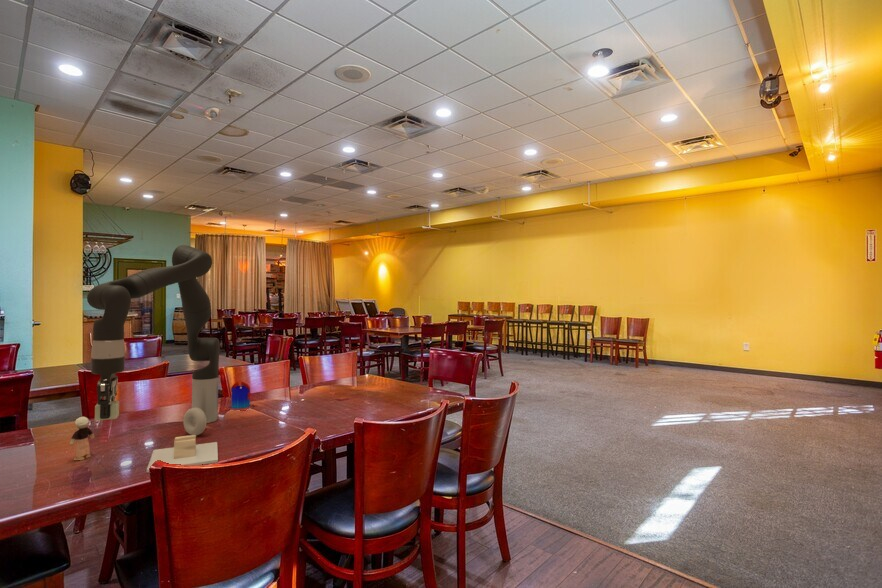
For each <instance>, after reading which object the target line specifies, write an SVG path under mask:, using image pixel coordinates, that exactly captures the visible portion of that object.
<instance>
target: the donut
mask: <svg viewBox="0 0 882 588" xmlns="http://www.w3.org/2000/svg"><path fill="white" fill-rule="evenodd" d="M194 418H195V420H196V424H195V423H194ZM182 423H183V427H184V430H185V431H186V432H187V434H188V435H189V436H190V435H196V437H197V436H200V435H201V434H202V433H203V432H204V431H205V429H206V427H207V423H206V416H205V414H204V412H203V411H202V410H201V409H200V408H197V407H195V408H192V407H190V408H189V409H187V411H186V412H185V413H184V416H183V421H182Z"/></svg>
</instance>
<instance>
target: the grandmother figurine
mask: <svg viewBox="0 0 882 588" xmlns="http://www.w3.org/2000/svg"><path fill="white" fill-rule="evenodd" d="M89 423H90V419H89V418H88V417H86V416H80V417H78V418H76V420H75V426H76V428H77V429H78V430H75V431H74V433H73V434H72V436H71V438H70V442H69V445H70V446H73V445H74V450H73V457H74V458H73V461H74V460H80V461H83V460H85V459H87V458H91V454H90V451H91V450H90V442H89V439H88V438H89V437H90V439H95V437H96V436H95V434H94V432H93V430H91V429H90V428H89V427H88V426H87V425H89Z"/></svg>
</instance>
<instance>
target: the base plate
mask: <svg viewBox="0 0 882 588" xmlns="http://www.w3.org/2000/svg"><path fill="white" fill-rule="evenodd" d="M218 452H219V451H218V441H215V442H213V441H212V442H205V443H199V444H197V443H196V451H195V456H193V457H185V458H178V459H174V446H172V447H165V448H159V449H153V451H152V454H151V456H150V459H149V462H148V465H147V468H146V473H150V472H149V468H150V466H151V465H152V464H153V463H154V462H155V461H157V460H161V461H163V462H166V463H169V464H181V465H196V466H201V465H202V464H203V465H210V464H216V463H218V462H219V453H218Z"/></svg>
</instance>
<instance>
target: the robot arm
mask: <svg viewBox="0 0 882 588" xmlns="http://www.w3.org/2000/svg"><path fill="white" fill-rule="evenodd" d="M212 264H213V258H212V256H211V254H209V253H208V252H206V251H204V250H201V249H198V248H196V247H193V246H191V245H187V244H182V245H178V246H177V247H176V248H175V249H174V250H173V253H172V255H171V265H169V266H161V267H153V268H152V267H151V268H147V269H143V270H140V271H137V272H135V273H132V274H130V275H127V277H126V276H125V277H123V278H120V279H115V280H111V281H107V282H104V283H100V284H98V285H95V286H94V287H93V288H91V289H90V290H89V291H88V294H87V296H86V300H87V303H88V305H89V306H90V307H92V308H93V309H96V310H102V311H103V315H102V318H99V319H97V320H94V322H93V324H92V325H93V326H92V345H91V351H90V352H91V354H90V355H91V357H90V359H91V360H90V361H91V362H90V364H91V366H90V367H91V368H90V369H91V370H90V372H91V374H93V375H100V378H99V380H97V385H96V391H97V392H96V393H97V395H96V396H97V403H98V405H99V406H100V418H101V419H107V418H109V417H110V409H111V401H116V398H117V395H118V393H117V391H118V382H119V381H118V380H119V379H118V378H119V377H118V375H116V374H119V373H122V372H125V365H126V363H125V362H126V361H125V360H126V359H125V358H126V357H125V355H126V352H125V351H126V349H125V348H126V345H125V323H126V320H127V317H128V314H129V311H130V307H131V305H132V299H139V298H142V297H144V296H146V295H149V294H151V293H153V292H155V291H158V290H159V289H160V290H161V289H163V288H164V287H167V286H171V285H175V284H177V285H178V289H179V295H180V300H181V307H182V313H183V319H184V322H185V327H186V328H185V329H186V336H187V337H186V338H187V340H186V341H187V351H188V352H187V353H188V357H189V359H190V360H191V361H192V362H206V361H207V362H209V363H208V364H207V365H205V366H203V367H202V368H199V369H196V370H193V372H192V374H191V376H192V380H191V381H192V383H191V384H192V385H191V390H192V391H191V408H195V407H197V408H200V409H201V410H202V411H203V412H204V414H205V416H206V424H209V423H214V422H216V421H218V417H219V416H218V415H219V410H218V409H219V369H220V368H219V364H220V363H219V362H220V350H221V346H220V345H221V344H220V340H219V338H217V337H198V336H199V334H200V332H201V330H202V329H203V328H204V327H205V325H206V324H207V323H208V322H209V320H210V318H211V316H212V307H211V306H212V305H211V300H210V297H209V295H208V294H207V292H206V291H205V289H204V287H203V286H202V285H201V283H200V281H199V280H198V278H199V277H202V276H204V275H207V273H208V272H209V271H210V270H211V268H212ZM97 403H96V404H97ZM194 423H195V425H196V420H195V418H194Z"/></svg>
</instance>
